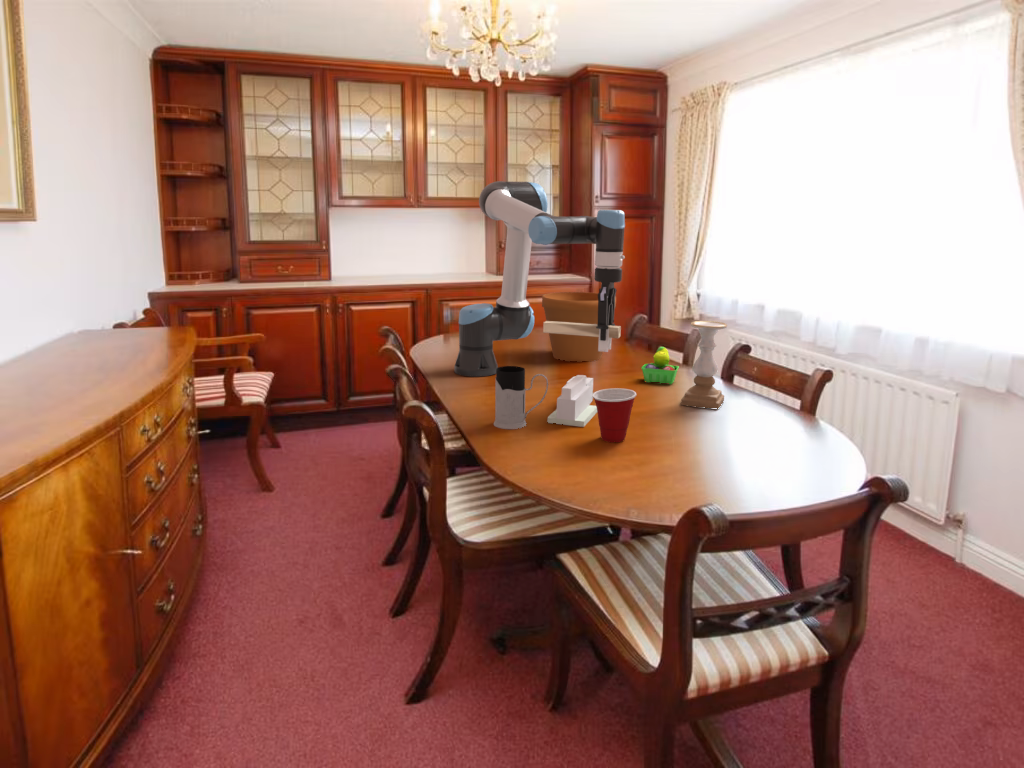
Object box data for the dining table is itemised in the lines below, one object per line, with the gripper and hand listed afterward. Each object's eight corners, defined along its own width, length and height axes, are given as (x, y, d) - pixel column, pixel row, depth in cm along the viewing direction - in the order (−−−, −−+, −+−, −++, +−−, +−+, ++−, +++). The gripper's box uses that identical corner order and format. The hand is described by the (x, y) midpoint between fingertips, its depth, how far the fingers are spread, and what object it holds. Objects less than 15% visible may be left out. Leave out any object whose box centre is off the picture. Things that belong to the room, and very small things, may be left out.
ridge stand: (563, 407, 200) (564, 373, 197) (597, 411, 196) (599, 376, 194) (547, 422, 185) (548, 386, 183) (583, 427, 182) (585, 390, 179)
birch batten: (546, 330, 204) (546, 320, 204) (620, 336, 197) (620, 326, 196) (543, 332, 202) (543, 322, 201) (618, 338, 194) (618, 327, 194)
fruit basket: (639, 382, 230) (641, 349, 227) (645, 376, 238) (647, 344, 235) (674, 386, 226) (677, 352, 223) (679, 380, 234) (681, 347, 231)
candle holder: (724, 401, 208) (731, 322, 202) (718, 410, 199) (725, 327, 193) (687, 396, 213) (693, 319, 207) (680, 405, 203) (685, 324, 197)
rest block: (573, 398, 209) (573, 376, 207) (592, 400, 207) (593, 378, 205) (565, 405, 201) (566, 382, 200) (585, 407, 199) (586, 384, 198)
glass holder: (494, 419, 188) (494, 365, 184) (546, 420, 188) (548, 365, 184) (492, 428, 180) (492, 372, 176) (547, 429, 179) (548, 373, 175)
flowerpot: (536, 362, 258) (537, 299, 252) (545, 348, 285) (546, 291, 279) (612, 366, 254) (615, 302, 248) (614, 351, 281) (616, 293, 275)
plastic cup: (586, 432, 177) (588, 387, 174) (628, 431, 178) (630, 386, 175) (594, 446, 167) (596, 398, 164) (639, 445, 168) (641, 398, 165)
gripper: (615, 270, 184) (611, 356, 189) (627, 265, 198) (623, 346, 204) (588, 268, 186) (584, 354, 192) (601, 264, 201) (598, 344, 207)
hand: (604, 349), depth 198 cm, fingers closed on birch batten, 3 cm apart
